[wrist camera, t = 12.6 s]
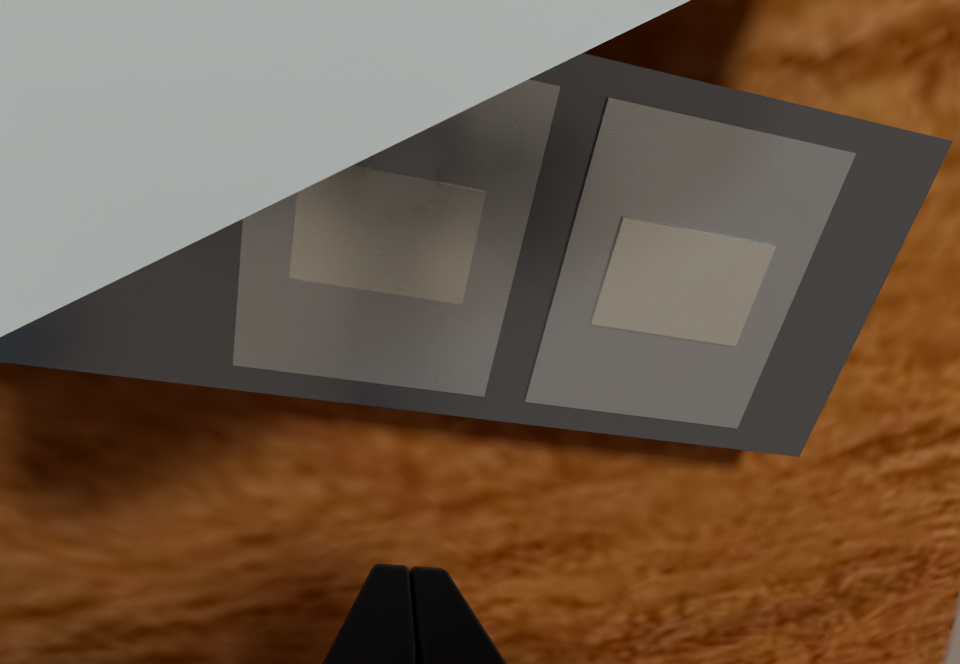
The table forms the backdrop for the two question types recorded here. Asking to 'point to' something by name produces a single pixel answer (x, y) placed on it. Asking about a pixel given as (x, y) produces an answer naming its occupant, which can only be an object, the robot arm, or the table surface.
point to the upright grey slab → (230, 112)
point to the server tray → (544, 267)
